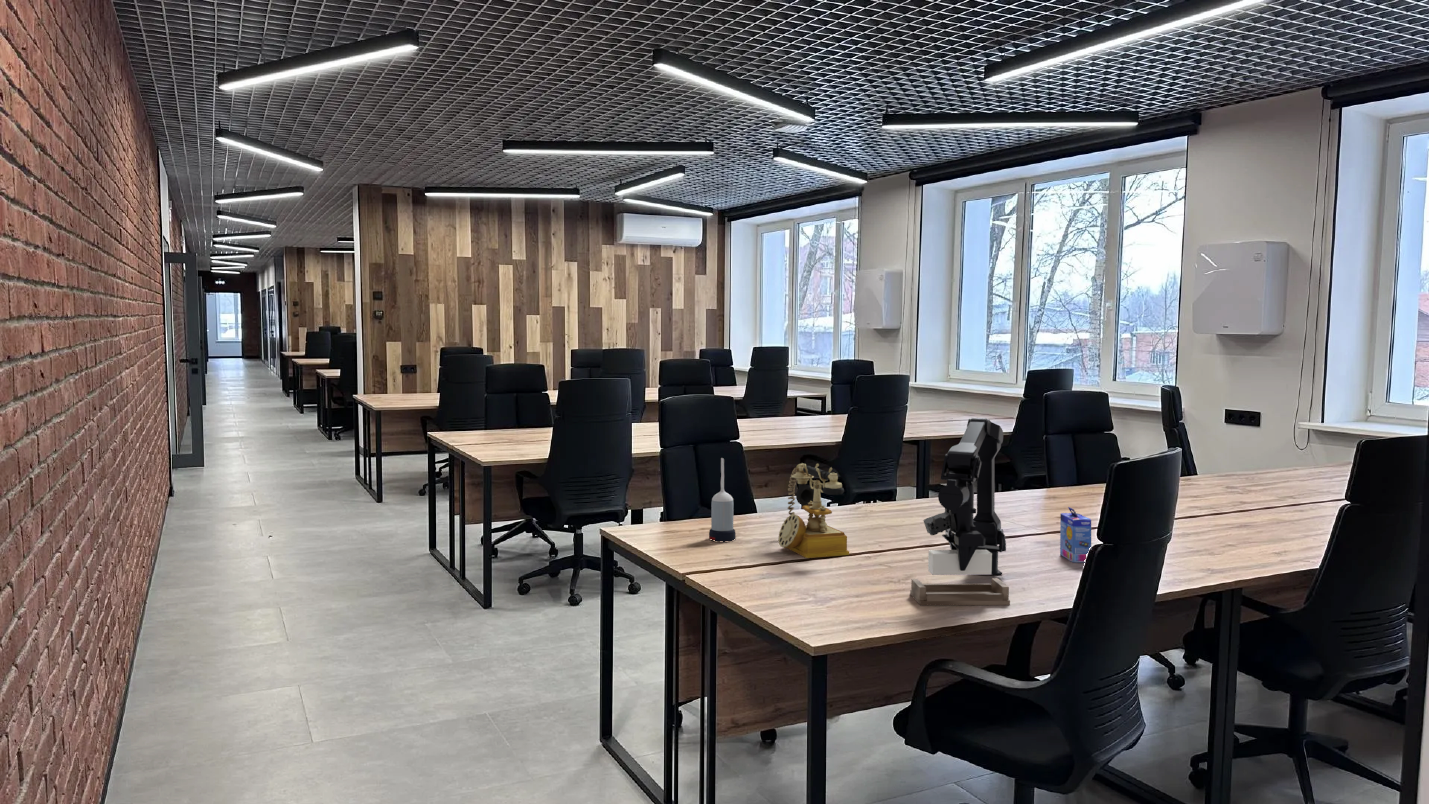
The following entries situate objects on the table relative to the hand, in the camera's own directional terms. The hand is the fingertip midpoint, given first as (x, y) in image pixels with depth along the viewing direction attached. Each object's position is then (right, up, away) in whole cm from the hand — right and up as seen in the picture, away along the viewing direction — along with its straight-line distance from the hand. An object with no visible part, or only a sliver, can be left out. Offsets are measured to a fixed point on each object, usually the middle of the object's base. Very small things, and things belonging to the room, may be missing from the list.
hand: (959, 568), depth 229 cm
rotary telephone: (-32, -4, +55) cm, 64 cm away
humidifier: (-56, -3, +67) cm, 87 cm away
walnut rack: (0, -8, 0) cm, 8 cm away
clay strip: (0, -1, 0) cm, 1 cm away
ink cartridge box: (+43, -5, +43) cm, 61 cm away
